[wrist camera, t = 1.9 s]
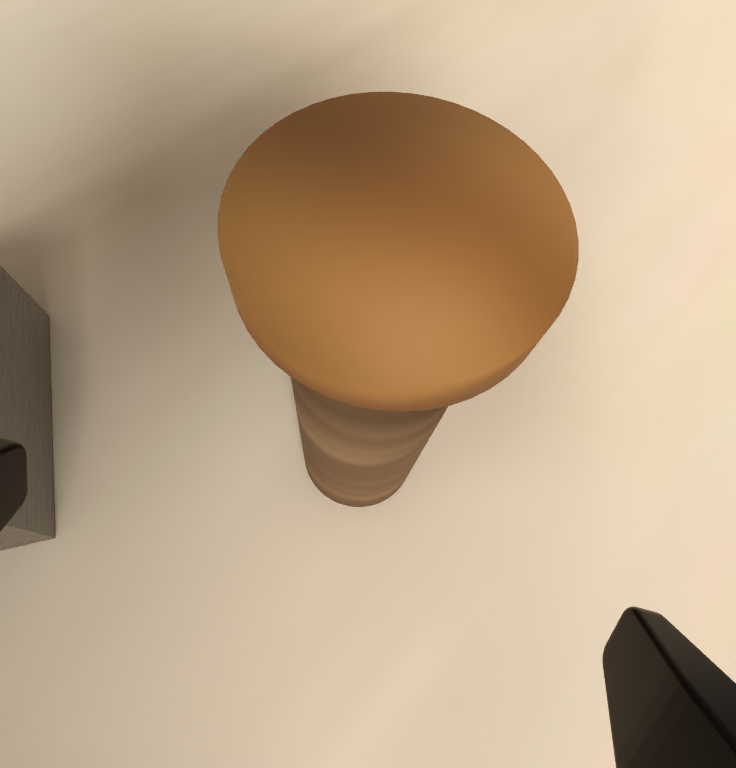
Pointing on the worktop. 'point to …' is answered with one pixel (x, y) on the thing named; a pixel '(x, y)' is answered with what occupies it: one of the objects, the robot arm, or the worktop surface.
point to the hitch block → (27, 408)
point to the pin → (392, 271)
